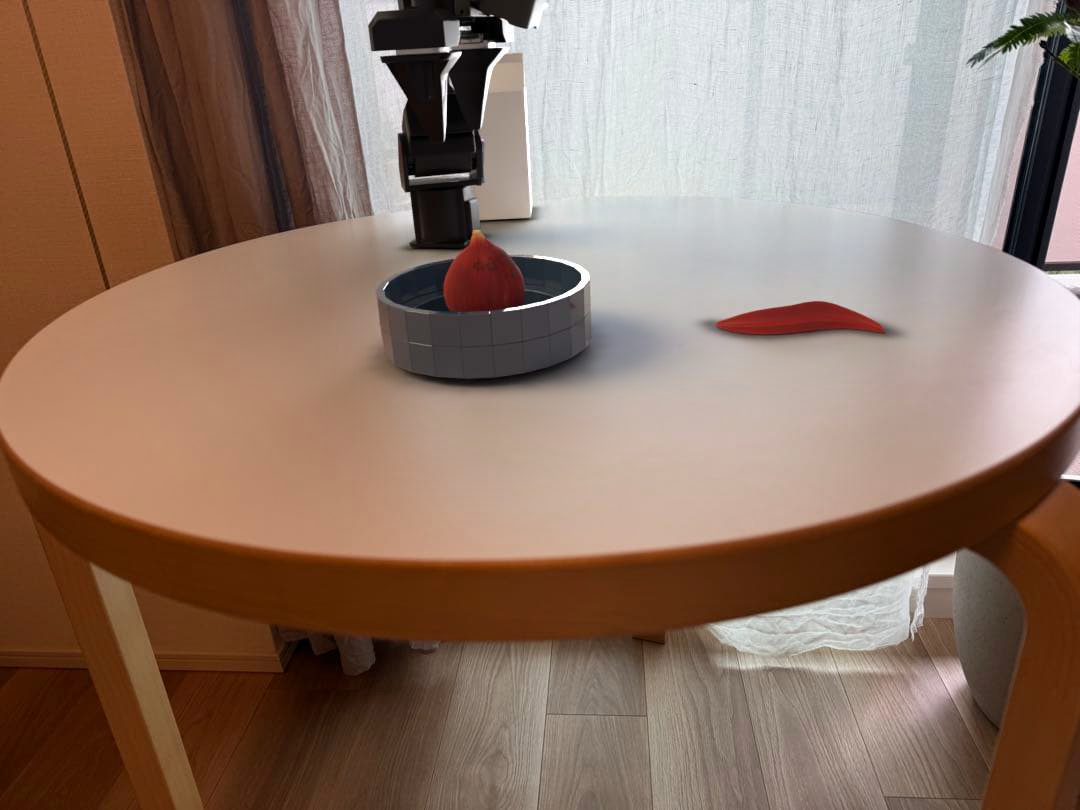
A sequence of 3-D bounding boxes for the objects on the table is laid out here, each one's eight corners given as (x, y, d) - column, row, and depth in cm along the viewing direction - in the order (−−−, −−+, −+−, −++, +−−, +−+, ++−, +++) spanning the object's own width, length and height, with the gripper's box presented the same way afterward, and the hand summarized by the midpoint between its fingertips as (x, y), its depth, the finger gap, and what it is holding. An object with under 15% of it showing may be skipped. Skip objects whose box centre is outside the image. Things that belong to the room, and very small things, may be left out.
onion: (540, 329, 62) (534, 223, 59) (505, 355, 57) (497, 242, 54) (473, 322, 64) (464, 220, 61) (434, 347, 60) (422, 237, 56)
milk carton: (531, 219, 102) (521, 53, 95) (474, 221, 103) (460, 56, 95) (532, 208, 109) (523, 51, 101) (478, 210, 109) (466, 55, 101)
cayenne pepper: (885, 323, 61) (888, 298, 60) (884, 344, 57) (888, 317, 56) (722, 312, 65) (723, 289, 65) (711, 331, 61) (712, 306, 61)
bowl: (347, 380, 56) (336, 310, 54) (432, 311, 70) (426, 253, 68) (562, 393, 52) (559, 318, 50) (609, 317, 66) (608, 256, 64)
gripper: (497, -87, 57) (512, 148, 63) (563, -63, 73) (570, 122, 79) (352, -72, 60) (380, 151, 66) (446, -53, 76) (462, 125, 82)
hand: (457, 135), depth 73 cm, fingers open, 9 cm apart
